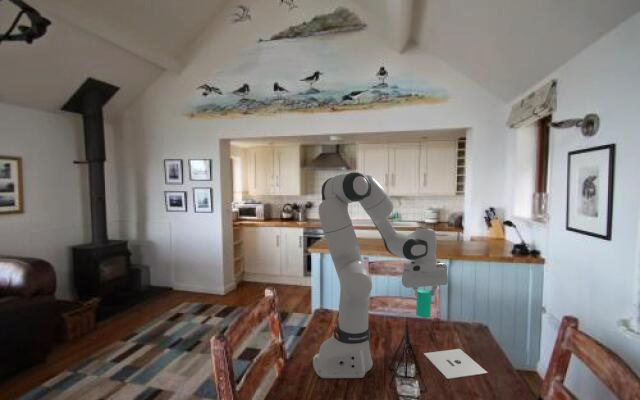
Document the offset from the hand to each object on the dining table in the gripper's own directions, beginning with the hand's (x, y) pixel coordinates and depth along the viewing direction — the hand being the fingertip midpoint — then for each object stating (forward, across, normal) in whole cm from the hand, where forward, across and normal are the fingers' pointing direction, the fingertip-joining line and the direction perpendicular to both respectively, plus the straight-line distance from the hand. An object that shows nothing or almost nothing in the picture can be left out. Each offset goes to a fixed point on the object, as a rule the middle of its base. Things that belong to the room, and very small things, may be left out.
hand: (424, 295), depth 137 cm
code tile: (+19, -1, +20) cm, 27 cm away
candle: (+9, +1, 0) cm, 9 cm away
